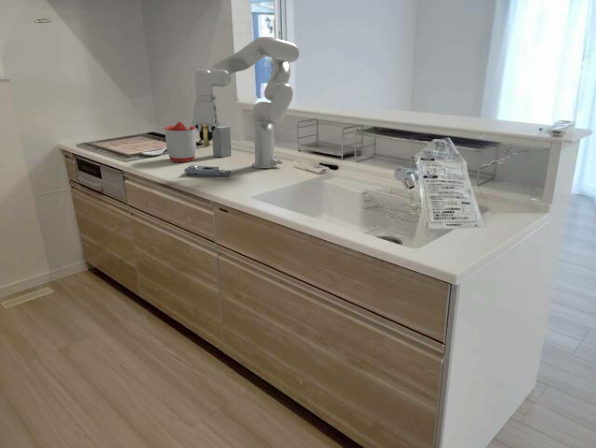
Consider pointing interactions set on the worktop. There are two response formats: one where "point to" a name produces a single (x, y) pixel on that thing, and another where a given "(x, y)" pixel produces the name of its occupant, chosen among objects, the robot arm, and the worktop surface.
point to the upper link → (200, 170)
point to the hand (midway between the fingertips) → (206, 139)
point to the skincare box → (221, 141)
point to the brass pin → (205, 135)
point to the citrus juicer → (180, 142)
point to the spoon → (154, 152)
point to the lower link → (216, 174)
